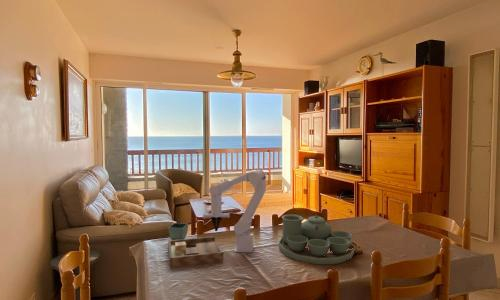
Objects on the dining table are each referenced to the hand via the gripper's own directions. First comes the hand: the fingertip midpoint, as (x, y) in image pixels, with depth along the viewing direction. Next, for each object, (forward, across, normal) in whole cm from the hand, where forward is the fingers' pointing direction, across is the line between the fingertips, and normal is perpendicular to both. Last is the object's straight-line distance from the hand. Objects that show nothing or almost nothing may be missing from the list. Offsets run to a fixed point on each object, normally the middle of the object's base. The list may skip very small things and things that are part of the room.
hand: (216, 230), depth 172 cm
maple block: (+6, -18, -13) cm, 23 cm away
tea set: (+9, +53, -12) cm, 55 cm away
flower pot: (+9, -21, +10) cm, 25 cm away
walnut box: (+8, -11, -12) cm, 18 cm away
